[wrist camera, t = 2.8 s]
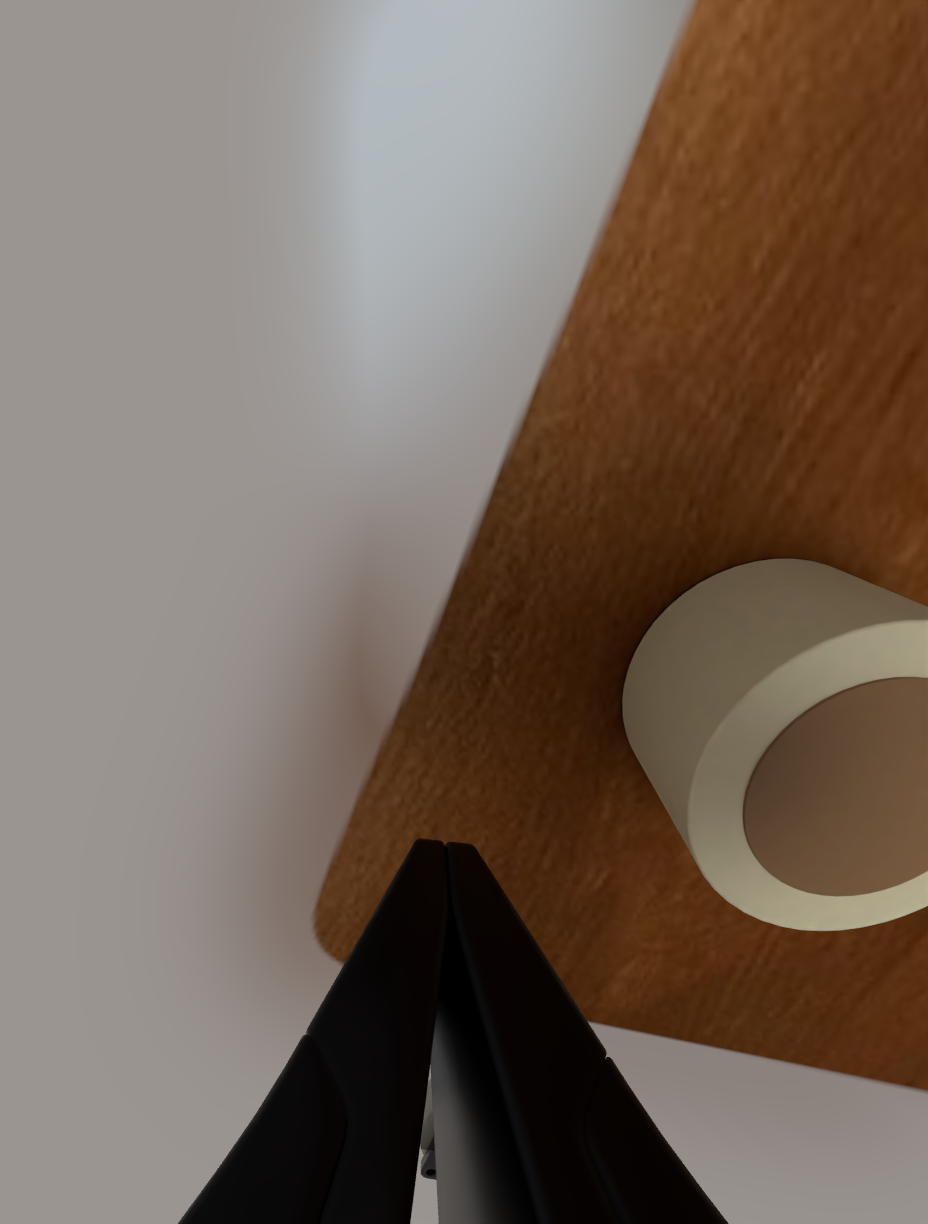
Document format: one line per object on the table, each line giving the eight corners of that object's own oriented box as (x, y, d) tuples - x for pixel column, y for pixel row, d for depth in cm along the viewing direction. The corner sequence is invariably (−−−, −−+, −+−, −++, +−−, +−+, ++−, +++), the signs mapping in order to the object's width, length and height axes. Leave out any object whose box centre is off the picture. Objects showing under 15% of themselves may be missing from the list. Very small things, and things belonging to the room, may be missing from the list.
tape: (804, 828, 19) (921, 964, 14) (579, 766, 18) (629, 893, 13) (947, 607, 16) (1144, 688, 12) (697, 518, 15) (809, 568, 11)
